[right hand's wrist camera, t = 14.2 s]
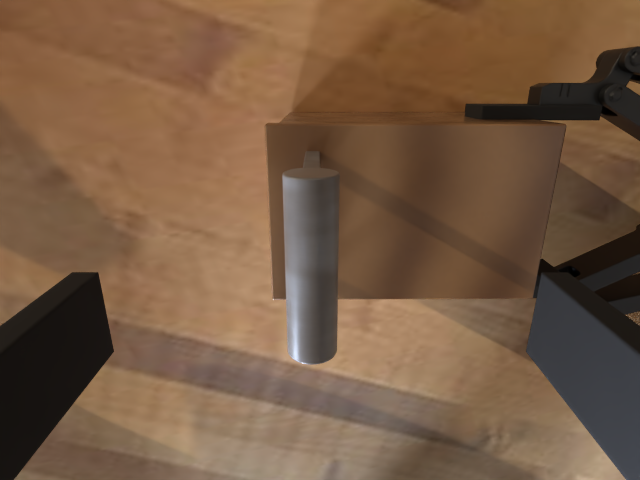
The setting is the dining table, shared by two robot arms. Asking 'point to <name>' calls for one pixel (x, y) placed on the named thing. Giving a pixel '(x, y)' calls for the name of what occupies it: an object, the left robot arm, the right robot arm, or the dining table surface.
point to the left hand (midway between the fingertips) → (462, 197)
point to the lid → (403, 215)
